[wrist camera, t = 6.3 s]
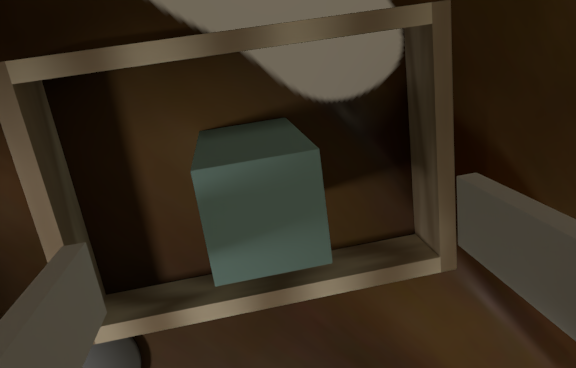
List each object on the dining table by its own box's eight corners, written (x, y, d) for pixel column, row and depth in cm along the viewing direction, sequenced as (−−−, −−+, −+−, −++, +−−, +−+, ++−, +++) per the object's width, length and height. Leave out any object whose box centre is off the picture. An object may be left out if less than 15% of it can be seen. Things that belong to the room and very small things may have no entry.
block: (215, 212, 27) (215, 286, 18) (199, 131, 25) (190, 171, 17) (296, 197, 27) (332, 263, 19) (285, 117, 26) (319, 148, 17)
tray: (93, 312, 27) (76, 348, 24) (15, 63, 23) (-20, 64, 19) (429, 244, 30) (456, 268, 26) (419, 6, 25) (450, -1, 22)
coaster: (44, 419, 29) (40, 426, 28) (9, 329, 27) (4, 335, 26) (152, 395, 29) (151, 402, 29) (126, 305, 27) (124, 311, 27)
